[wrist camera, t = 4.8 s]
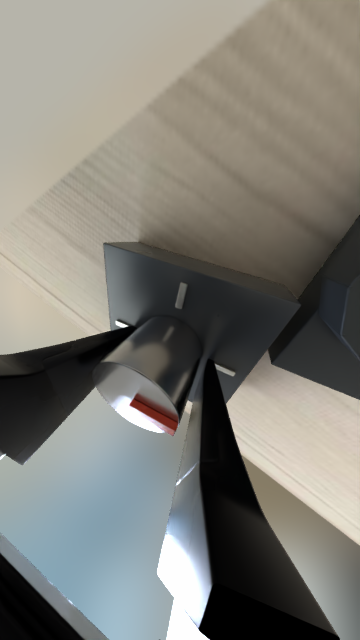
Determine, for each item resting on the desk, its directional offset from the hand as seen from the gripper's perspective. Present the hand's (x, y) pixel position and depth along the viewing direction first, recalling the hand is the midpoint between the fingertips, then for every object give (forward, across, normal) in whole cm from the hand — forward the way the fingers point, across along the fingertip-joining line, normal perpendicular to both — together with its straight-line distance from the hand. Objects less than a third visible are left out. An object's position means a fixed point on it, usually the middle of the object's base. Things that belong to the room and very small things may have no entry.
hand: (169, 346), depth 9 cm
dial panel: (+3, 0, 0) cm, 3 cm away
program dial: (0, 0, 0) cm, 0 cm away
